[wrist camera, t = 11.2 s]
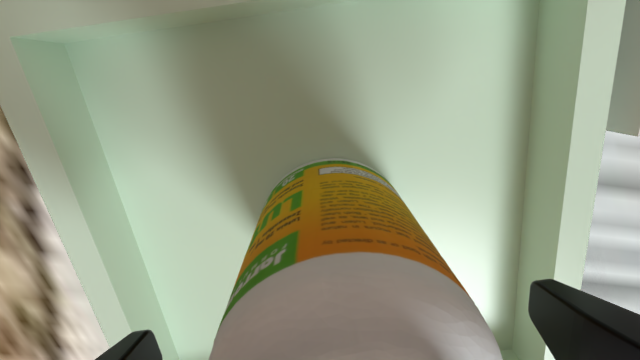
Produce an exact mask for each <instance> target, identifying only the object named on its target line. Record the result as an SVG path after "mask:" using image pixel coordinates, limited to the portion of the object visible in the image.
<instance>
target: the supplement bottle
mask: <svg viewBox="0 0 640 360" xmlns="http://www.w3.org/2000/svg"><path fill="white" fill-rule="evenodd" d="M209 360H503V359H502V355H501V352H500V349H499V346H498V344H497V342H496V339H495V337H494V335H493V333H492V331H491V329H490V328H489V326H488V324H487V323H486V321H485V319H484V318H483V316H482V314H481V313H480V311H479V309H478V308H477V306H476V305H475V303H474V301H473V300H472V299H471V297H470V296H469V294H468V293H467V291H466V290H465V288H464V287H463V285H462V284H461V283H460V281H459V280H458V279H457V277H456V276H455V274H454V273H453V272H452V270H451V269H450V267H449V266H448V264H447V263H446V261H445V260H444V259H443V257H442V256H441V255H440V253H439V252H438V250H437V249H436V247H435V246H434V244H433V243H432V242H431V240H430V239H429V237H428V236H427V234H426V233H425V232H424V230H423V229H422V227H421V226H420V224H419V223H418V222H417V220H416V219H415V217H414V216H413V214H412V213H411V211H410V210H409V209H408V207H407V206H406V204H405V203H404V201H403V200H402V198H401V197H400V195H399V194H398V192H397V191H396V190H395V189H394V187H393V186H392V185H391V184H390V182H389V181H388V180H387V179H386V178H385V177H384V176H382V175H381V174H380V173H378V172H377V171H376V170H374V169H372V168H371V167H369V166H367V165H364V164H362V163H360V162H357V161H353V160H348V159H340V158H329V159H320V160H315V161H311V162H308V163H306V164H303V165H301V166H299V167H297V168H295V169H294V170H292V171H291V172H289V173H288V174H286V175H285V176H284V177H283V178H282V179H281V180H280V181H279V182H278V183H277V184H276V185H275V187H274V188H273V189H272V191H271V192H270V194H269V196H268V198H267V200H266V202H265V204H264V206H263V209H262V211H261V214H260V217H259V220H258V223H257V225H256V228H255V231H254V233H253V236H252V239H251V241H250V244H249V247H248V250H247V252H246V254H245V257H244V260H243V263H242V266H241V268H240V271H239V274H238V277H237V279H236V282H235V285H234V288H233V291H232V293H231V296H230V299H229V302H228V304H227V307H226V310H225V312H224V315H223V318H222V320H221V323H220V325H219V328H218V331H217V334H216V337H215V339H214V343H213V348H212V351H211V354H210V357H209Z"/></svg>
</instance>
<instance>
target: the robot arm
mask: <svg viewBox="0 0 640 360" xmlns="http://www.w3.org/2000/svg"><path fill="white" fill-rule="evenodd" d="M528 313H529V316H530V319H531V321H532V322H533V324H534V326H535V327H536V329H537V331H538V332H539V334H540V336H541V337H542V339H543V341H544V342H545V344H546V345H547V347H548V349H549V350H550V352H551V354H552V355H553V357H554V359H555V360H640V315H639V314H637V313H634V312H632V311H629V310H627V309H625V308H622V307H620V306H617V305H615V304H612V303H610V302H607V301H605V300H603V299H600V298H598V297H595V296H593V295H590V294H588V293H585V292H583V291H581V290H578V289H576V288H573V287H571V286H568V285H566V284H563V283H561V282H558V281H556V280H553V279H542V280H535V281H533V282H532V283H531V285H530V292H529V303H528ZM95 360H163V358H162V353H161V351H160V348H159V345H158V343H157V340H156V338H155V335H154V333H153V332H152V331H151V330H139V331H134V332H131V333H130V334H128V335H127V336H126V337H124V338H123V339H122V340H120V341H119V342H118V343H116V344H115V345H114V346H112V347H111V348H110V349H108V350H107V351H106V352H104V353H103V354H102V355H100V356H99V357H98V358H96V359H95Z"/></svg>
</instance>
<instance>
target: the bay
mask: <svg viewBox="0 0 640 360" xmlns="http://www.w3.org/2000/svg"><path fill="white" fill-rule="evenodd" d="M606 130H607V131H612V132H617V133H622V134H628V135H633V136H640V0H626V5H625V11H624V17H623V24H622V30H621V37H620V43H619V49H618V56H617V62H616V68H615V75H614V81H613V87H612V94H611V100H610V106H609V113H608V119H607V126H606Z"/></svg>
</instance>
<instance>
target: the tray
mask: <svg viewBox="0 0 640 360" xmlns="http://www.w3.org/2000/svg"><path fill="white" fill-rule="evenodd" d="M625 5H626V0H0V106H1V108H2V110H3V112H4V114H5V117H6V119H7V121H8V123H9V125H10V128H11V130H12V132H13V134H14V137H15V139H16V141H17V143H18V145H19V148H20V150H21V152H22V154H23V156H24V159H25V161H26V163H27V165H28V168H29V170H30V172H31V174H32V176H33V179H34V181H35V183H36V185H37V187H38V190H39V192H40V194H41V196H42V198H43V201H44V203H45V205H46V207H47V210H48V212H49V214H50V216H51V218H52V221H53V223H54V225H55V227H56V229H57V232H58V234H59V236H60V238H61V241H62V243H63V245H64V247H65V249H66V252H67V254H68V256H69V258H70V260H71V263H72V265H73V267H74V269H75V271H76V274H77V276H78V278H79V280H80V283H81V285H82V287H83V289H84V291H85V294H86V296H87V298H88V300H89V302H90V305H91V307H92V309H93V311H94V314H95V316H96V318H97V320H98V322H99V325H100V327H101V329H102V331H103V333H104V336H105V338H106V340H107V342H108V344H109V347H110V348H111V347H112V346H114V345H115V344H116V343H118V342H119V341H120V340H122V339H123V338H124V337H126V336H127V335H128V334H130V333H131V332H134V331H139V330H151V331H152V332H153V333H154V335H155V338H156V340H157V343H158V345H159V348H160V351H161V353H162V358H163V360H209V357H210V354H211V351H212V348H213V343H214V339H215V337H216V334H217V331H218V328H219V325H220V323H221V320H222V318H223V315H224V312H225V310H226V307H227V304H228V302H229V299H230V296H231V293H232V291H233V288H234V285H235V282H236V279H237V277H238V274H239V271H240V268H241V266H242V263H243V260H244V257H245V254H246V252H247V250H248V247H249V244H250V241H251V239H252V236H253V233H254V231H255V228H256V225H257V223H258V220H259V217H260V214H261V211H262V209H263V206H264V204H265V202H266V200H267V198H268V196H269V194H270V192H271V191H272V189H273V188H274V187H275V185H276V184H277V183H278V182H279V181H280V180H281V179H282V178H283V177H284V176H285V175H286V174H288V173H289V172H291V171H292V170H294V169H295V168H297V167H299V166H301V165H303V164H306V163H308V162H311V161H315V160H320V159H329V158H340V159H348V160H353V161H357V162H360V163H362V164H364V165H367V166H369V167H371V168H372V169H374V170H376V171H377V172H378V173H380V174H381V175H382V176H384V177H385V178H386V179H387V180H388V181H389V182H390V184H391V185H392V186H393V187H394V189H395V190H396V191H397V192H398V194H399V195H400V197H401V198H402V200H403V201H404V203H405V204H406V206H407V207H408V209H409V210H410V211H411V213H412V214H413V216H414V217H415V219H416V220H417V222H418V223H419V224H420V226H421V227H422V229H423V230H424V232H425V233H426V234H427V236H428V237H429V239H430V240H431V242H432V243H433V244H434V246H435V247H436V249H437V250H438V252H439V253H440V255H441V256H442V257H443V259H444V260H445V261H446V263H447V264H448V266H449V267H450V269H451V270H452V272H453V273H454V274H455V276H456V277H457V279H458V280H459V281H460V283H461V284H462V285H463V287H464V288H465V290H466V291H467V293H468V294H469V296H470V297H471V299H472V300H473V301H474V303H475V305H476V306H477V308H478V309H479V311H480V313H481V314H482V316H483V318H484V319H485V321H486V323H487V324H488V326H489V328H490V329H491V331H492V333H493V335H494V337H495V339H496V342H497V344H498V346H499V349H500V352H501V355H502V359H503V360H555V359H554V357H553V355H552V354H551V352H550V350H549V349H548V347H547V345H546V344H545V342H544V341H543V339H542V337H541V336H540V334H539V332H538V331H537V329H536V327H535V326H534V324H533V322H532V321H531V319H530V316H529V313H528V303H529V292H530V285H531V283H532V282H533V281H535V280H542V279H553V280H556V281H558V282H561V283H563V284H566V285H568V286H571V287H573V288H576V289H578V290H581V284H582V278H583V272H584V265H585V259H586V253H587V246H588V240H589V234H590V227H591V221H592V215H593V208H594V202H595V195H596V189H597V183H598V176H599V170H600V164H601V157H602V151H603V145H604V138H605V132H606V126H607V119H608V113H609V106H610V100H611V94H612V87H613V81H614V75H615V68H616V62H617V56H618V49H619V43H620V37H621V30H622V24H623V17H624V11H625Z"/></svg>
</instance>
